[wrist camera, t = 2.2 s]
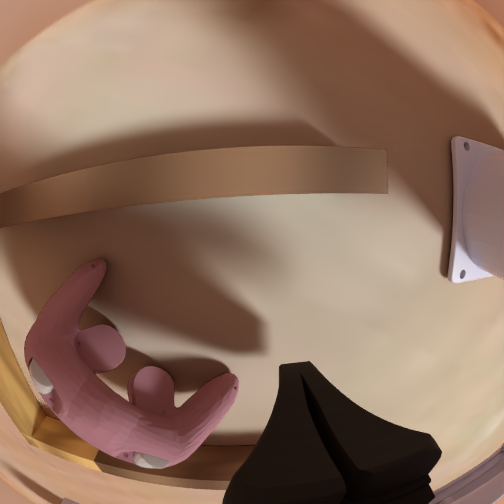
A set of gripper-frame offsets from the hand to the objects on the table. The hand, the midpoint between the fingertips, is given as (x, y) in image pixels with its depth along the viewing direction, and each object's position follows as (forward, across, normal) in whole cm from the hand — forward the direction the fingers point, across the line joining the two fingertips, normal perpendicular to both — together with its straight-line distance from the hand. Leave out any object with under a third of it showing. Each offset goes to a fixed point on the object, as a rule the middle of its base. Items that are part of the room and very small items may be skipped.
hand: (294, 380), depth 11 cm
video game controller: (+2, +8, 0) cm, 8 cm away
